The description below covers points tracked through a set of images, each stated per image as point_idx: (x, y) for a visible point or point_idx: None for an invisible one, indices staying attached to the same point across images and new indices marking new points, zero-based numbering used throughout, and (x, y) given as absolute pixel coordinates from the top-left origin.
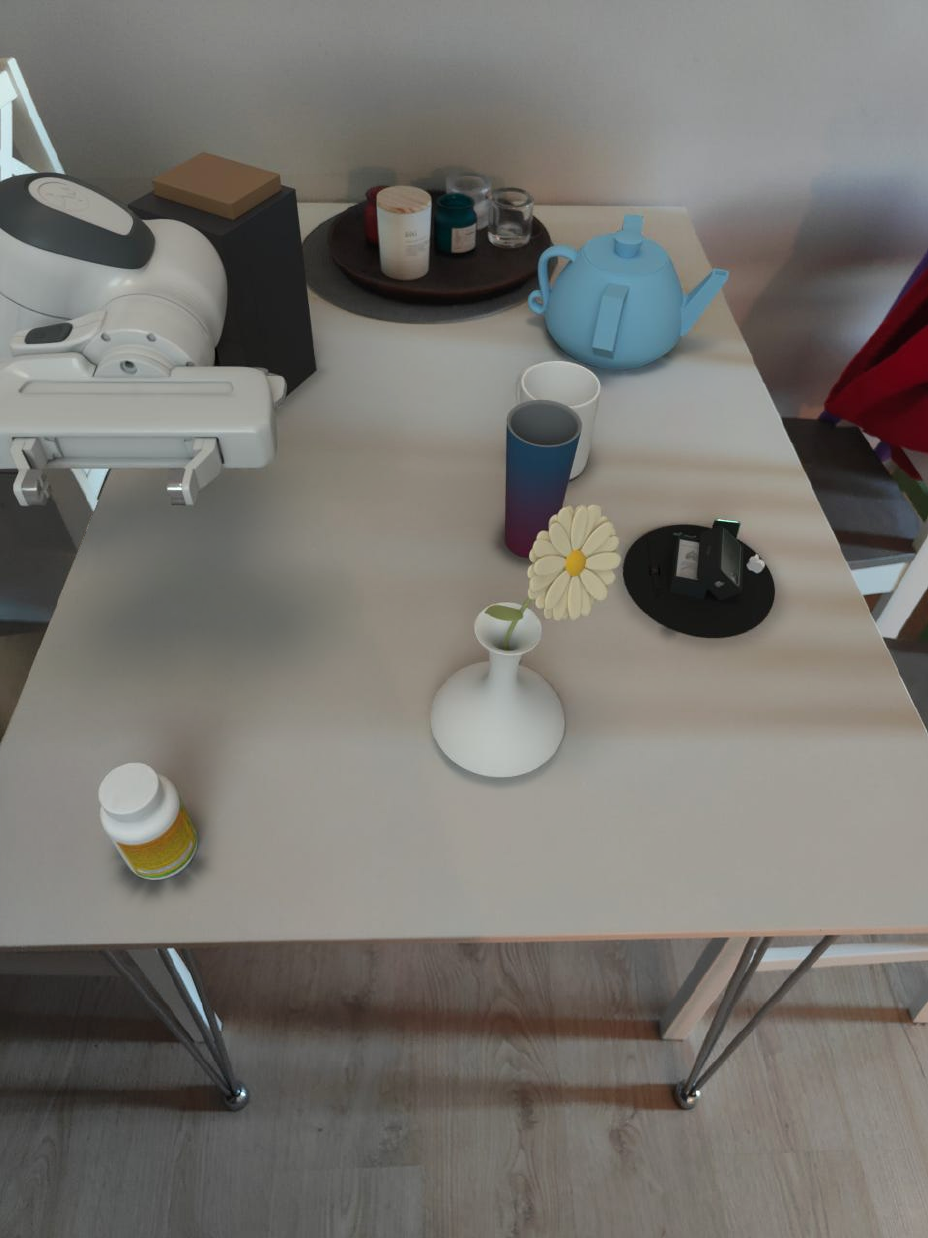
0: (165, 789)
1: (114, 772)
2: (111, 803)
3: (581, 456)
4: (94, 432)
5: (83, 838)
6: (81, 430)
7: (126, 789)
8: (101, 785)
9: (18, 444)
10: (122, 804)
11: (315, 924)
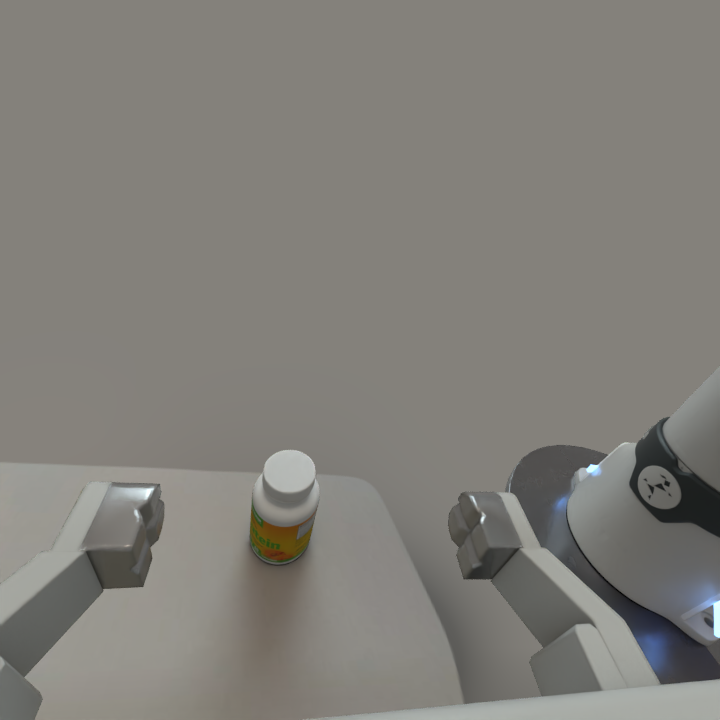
0: (263, 496)
1: (305, 483)
2: (301, 457)
3: None
4: (418, 709)
5: (348, 546)
6: (468, 707)
7: (291, 468)
8: (314, 473)
9: (625, 652)
10: (292, 455)
11: (158, 474)
